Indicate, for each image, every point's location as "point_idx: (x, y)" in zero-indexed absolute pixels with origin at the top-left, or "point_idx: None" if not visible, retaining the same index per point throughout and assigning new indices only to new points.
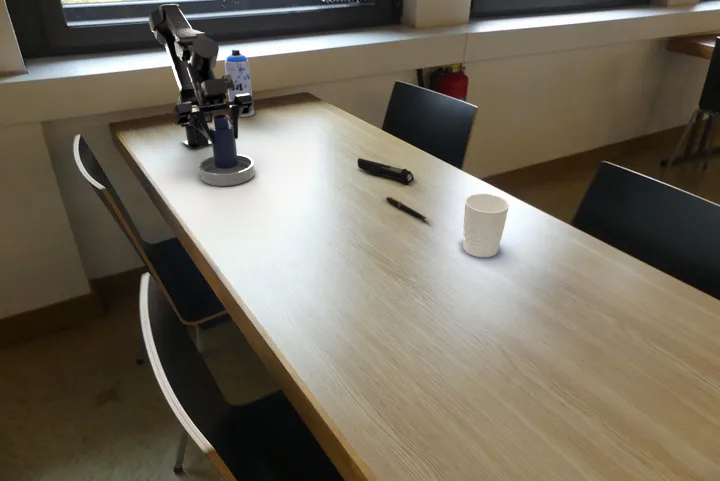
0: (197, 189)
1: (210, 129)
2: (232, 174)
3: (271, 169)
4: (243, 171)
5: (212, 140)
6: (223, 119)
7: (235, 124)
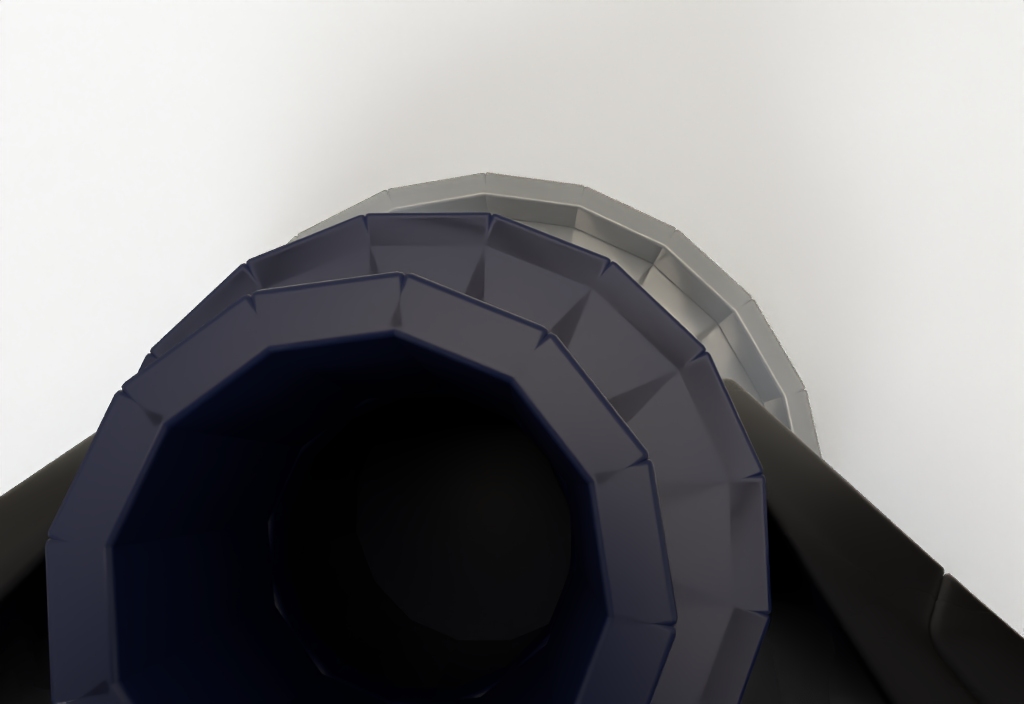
0: (866, 329)
1: (765, 539)
2: (528, 179)
3: (35, 428)
4: (391, 189)
5: (729, 385)
6: (346, 293)
7: (2, 543)
